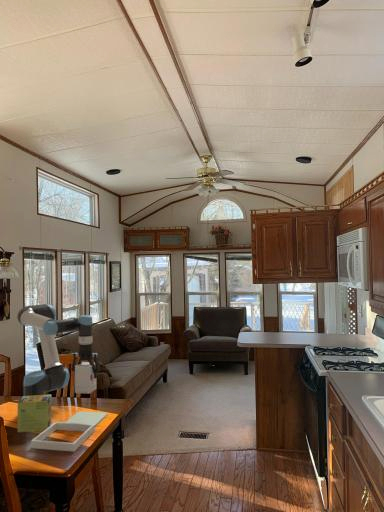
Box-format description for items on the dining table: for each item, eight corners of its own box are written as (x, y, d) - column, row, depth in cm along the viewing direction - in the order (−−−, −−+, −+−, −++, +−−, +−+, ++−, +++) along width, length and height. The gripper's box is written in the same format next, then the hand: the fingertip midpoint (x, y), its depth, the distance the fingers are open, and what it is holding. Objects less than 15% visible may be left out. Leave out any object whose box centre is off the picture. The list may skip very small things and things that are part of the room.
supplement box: (89, 394, 210) (89, 366, 211) (74, 393, 212) (74, 365, 213) (97, 388, 219) (96, 362, 220) (82, 387, 221) (82, 361, 221)
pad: (63, 425, 208) (63, 423, 208) (78, 413, 226) (78, 411, 226) (94, 427, 205) (94, 425, 205) (107, 414, 223) (107, 413, 223)
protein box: (48, 430, 203) (48, 400, 203) (17, 432, 200) (17, 402, 201) (52, 422, 213) (51, 394, 214) (22, 424, 211) (22, 395, 211)
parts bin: (31, 448, 183) (31, 440, 183) (55, 428, 205) (55, 421, 205) (74, 451, 179) (74, 444, 179) (94, 431, 201) (94, 424, 201)
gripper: (64, 344, 215) (64, 385, 214) (101, 345, 211) (101, 386, 210) (71, 341, 222) (71, 380, 222) (106, 342, 218) (106, 382, 218)
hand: (85, 383), depth 216 cm, fingers closed on supplement box, 9 cm apart
